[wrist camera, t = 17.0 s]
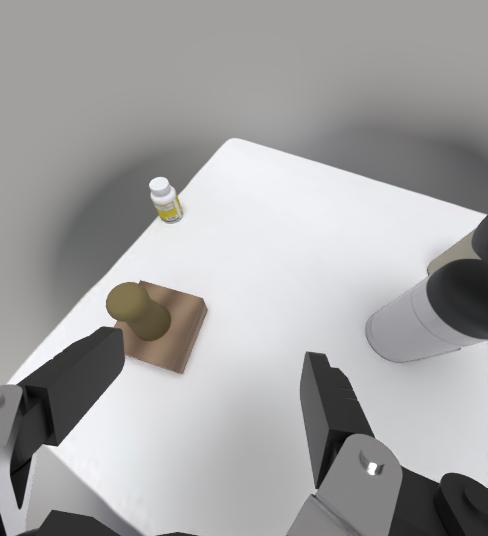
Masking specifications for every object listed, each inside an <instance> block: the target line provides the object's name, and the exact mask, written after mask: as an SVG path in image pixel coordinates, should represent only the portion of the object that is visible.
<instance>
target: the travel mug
mask: <svg viewBox="0 0 488 536" xmlns="http://www.w3.org/2000/svg"><path fill="white" fill-rule="evenodd" d="M475 230H476V229H474V230H473V231H472V232H470V233H469V234H468V235H466V236H465V237H464V238H462V239H461V240H460V241H459V242H457V243H456V244H455V245H453V246H452V247H451V248H449V249H448V250H447V251H445V252H444V253H443V254H441V255H440V256H439V257H438V258H436V259H435V260H434V261H432V262H431V263H430V264H429V267H428V273H429V275H431V274H432V273H434V272H435V271H437V270H438V269H439V268H441V267H442V266H444V265H446V264H447V263H449V262H452V261H455V260H459V259H480V260H482V259H481V258H480V257H479V256H478V255H477V254H476V253H475V252H474V250H473V248H472V245H471V240H472V236H473V234H474V231H475Z"/></svg>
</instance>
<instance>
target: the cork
mask: <svg viewBox="0 0 488 536" xmlns="http://www.w3.org/2000/svg"><path fill="white" fill-rule="evenodd" d="M106 308H107V311H108V313H109V314H110V316H111V317H112V318H114V319H116V320H118V321H120V322H126V323H127V325H128V326H129V327H130V328H131V329H132V330H133V331H134V333H135V334H136V335H137V336H138V337H139V338H140V339H142V340H144V341H154V340H157V339H159V338H161V337H163V336H164V335H165V334H166V333H167V331H168V329H169V328H170V325H171V315H170V313H169V311H168V310H167V309H166V308H165V307H163V306H162V305H160V304H159V303H157V302H155V301H154V300H152V299H151V298H150V297H149V294H148V292H147V290H146V289H145V288H144V287H143V286H142V285H139V284H137V283H134V282H127V283H122V284H120V285H118V286H116V287H115V288H113V289H112V290H111V292H110V293H109V294H108V297H107V300H106Z"/></svg>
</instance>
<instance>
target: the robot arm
mask: <svg viewBox="0 0 488 536" xmlns="http://www.w3.org/2000/svg"><path fill="white" fill-rule="evenodd" d="M471 245H472V248H473V250H474V252H475V253H476V254H477V255H478V256H479V257H480V258H481V259H482V260H480V259H459V260H455V261H452V262H449V263H447V264H446V265H444V266H442V267H441V268H439V269H438V270H437V271H435V272H434V273H432V274H431V275H429V276H428V277H426V278H425V279H424V280H422V281H421V282H419V283H418V284H417V285H415V286H414V287H412V288H411V289H409V290H408V291H407V292H405V293H404V294H402V295H401V296H399V297H398V298H396V299H395V300H394V301H392V302H391V303H389V304H388V305H386V306H385V307H383V308H382V309H381V310H379V311H378V312H376V313H375V314H374V315H372V316H371V317H370V318H369V320H368V322H367V325H366V335H367V338H368V341H369V343H370V345H371V346H372V347H373V349H374V350H375V351H376V352H377V353H378V354H379V355H381V356H382V357H383V358H385V359H387V360H390V361H393V362H407V361H411V360H415V359H416V360H421V359H426V358H430V357H434V356H438V355H442V354H446V353H450V352H454V351H458V350H460V349H461V347H465V346H469V345H472V344H476V343H480V342H484V341H487V340H488V215H487V216H486V217H485V218H484V219H483V220H482V222H481V223H480V224H479V225H478V227H477V228H476V230H475V231H474V234H473V236H472V240H471ZM124 362H125V354H124V340H123V331H122V329H120V328H113V327H104V326H103V327H100V328H99V329H98V330H96V331H95V332H94V333H92V334H91V335H90V336H87V337H85V338H83V339H81V340H78V341H76V342H74V343H72V344H71V345H70V346H68V347H67V348H66V349H64V350H63V351H62V352H60V353H59V354H57V355H56V356H55V357H53V359H51V360H49V361H48V362H46V363H45V364H44V365H42V366H41V367H40V368H38V369H37V370H36V371H34V372H33V373H31V374H30V375H29V376H27V377H26V378H25V379H23V380H22V381H21V382H19V383H18V384H16V385H2V386H0V536H120V535H119V534H117V533H115V532H114V531H113V530H111V529H110V528H108V527H107V526H105V525H103V524H102V523H101V522H99V521H98V520H96V519H95V518H93V517H90V516H85V515H79V514H73V513H67V512H61V511H56V510H52V511H51V512H50V514H49V515H48V516H47V518H46V519H45V521H44V522H43V524H42V525H41V526H40V528H37V529H33V530H30V531H26V532H25V522H26V514H27V509H28V503H29V498H30V492H31V487H32V481H33V476H34V470H35V465H36V459H37V456H36V450H38V449H39V447H40V446H41V445H42V444H45V445H51V446H57V447H58V446H59V444H60V443H61V442H62V441H63V440H64V439H65V437H66V436H67V435H68V434H69V433H70V432H71V430H72V429H73V428H74V427H75V426H76V424H77V423H78V422H79V421H80V420H81V419H82V417H83V416H84V415H85V414H86V413H87V412H88V410H89V409H90V408H91V407H92V406H93V405H94V403H95V402H96V401H97V400H98V399H99V397H100V396H101V395H102V394H103V393H104V392H105V390H106V389H107V388H108V387H109V386H110V385H111V383H112V382H113V381H114V380H115V379H116V378H117V376H118V375H119V374H120V373H121V371H122V369H123V366H124ZM300 400H301V406H302V412H303V418H304V424H305V430H306V435H307V441H308V447H309V453H310V459H311V465H312V471H313V477H314V483H315V489H319V490H318V491H317V493H316V494H315V496H314V495H313V494H311V495H310V496H309V497H308V499H307V500H306V502H305V503H304V505H303V507H302V509H301V510H300V512H299V514H298V516H297V517H296V519H295V521H294V523H293V524H292V526H291V528H290V530H289V531H288V533H287V535H286V536H488V488H486V487H485V486H483V485H482V484H480V483H479V482H477V481H475V480H474V479H472V478H470V477H467V476H465V475H462V474H458V473H447V474H445V475H444V476H443V477H442V479H441V481H440V483H437V482H435V481H433V480H430V479H428V478H426V477H424V476H421V475H419V474H417V473H414V472H412V471H410V470H408V469H406V468H404V467H403V466H401V465H400V464H399V461H398V460H397V458H396V457H395V455H394V454H393V453H392V452H391V450H390V449H389V448H388V447H386V446H385V445H384V444H383V443H381V442H380V441H378V440H377V439H375V436H374V434H373V432H372V430H371V428H370V425H369V423H368V421H367V419H366V417H365V415H364V412H363V410H362V408H361V406H360V404H359V401H357V397H356V395H355V393H354V391H353V388H352V386H351V384H350V382H349V380H348V378H347V377H346V376H345V375H344V374H343V373H342V372H341V370H340V369H339V368H332V367H330V364H329V362H328V359H327V357H326V355H325V354H323V353H315V352H306V354H305V358H304V364H303V370H302V376H301V382H300ZM157 536H197V535H192V534H186V533H180V532H175V533H169V534H163V535H157Z"/></svg>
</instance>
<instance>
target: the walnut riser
mask: <svg viewBox="0 0 488 536" xmlns="http://www.w3.org/2000/svg"><path fill="white" fill-rule="evenodd" d="M139 285H142V286H143V287H144V288H145V289H146V290H147V292H148V294H149V297H150V298H151V299H152V300H154V301H155V302H157V303H159V304H160V305H162V306H163V307H165V308H166V309H167V310H168V311H169V313H170V315H171V325H170V328H169V329H168V331H167V333H166V334H165V335H164V336H163V337H161V338H159V339H157V340H154V341H144V340H142V339H140V338H139V337H138V336H137V335H136V334H135V333H134V331H133V330H132V329H131V328H130V327H129V326H128V325H127V323H126V322H120V321H117V322H116V324H115V326H114V328H120V329H122V331H123V340H124V354H125V355H127V356H130V357H133V358H136V359H139V360H142V361H145V362H148V363H151V364H154V365H157V366H159V367H162V368H165V369H168V370H171V371H174V372H177V373H180V374H183V371H184V369H185V366H186V363H187V361H188V358H189V356H190V353H191V351H192V348H193V346H194V343H195V341H196V338H197V335H198V333H199V330H200V328H201V325H202V323H203V320H204V318H205V315H206V313H207V307H206V305H205V303H204V300H203V298H200V297H197V296H193V295H190V294H186V293H183V292H179V291H176V290H172V289H169V288H166V287H162V286H159V285H155V284H152V283H148V282H145V281H141V280H140V282H139Z"/></svg>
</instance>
